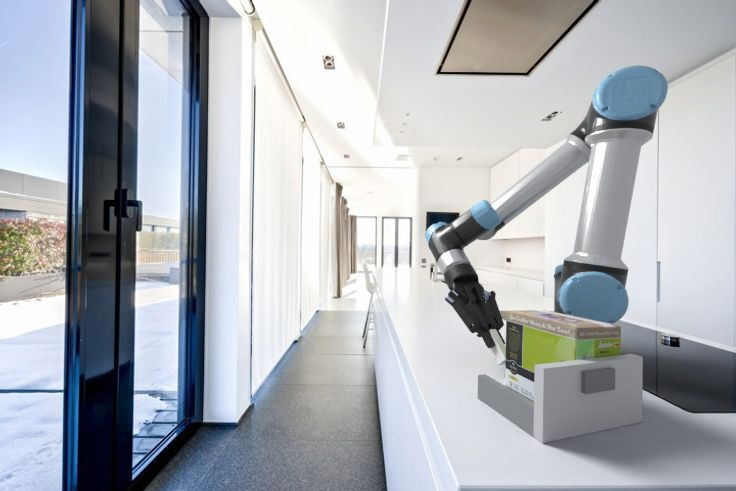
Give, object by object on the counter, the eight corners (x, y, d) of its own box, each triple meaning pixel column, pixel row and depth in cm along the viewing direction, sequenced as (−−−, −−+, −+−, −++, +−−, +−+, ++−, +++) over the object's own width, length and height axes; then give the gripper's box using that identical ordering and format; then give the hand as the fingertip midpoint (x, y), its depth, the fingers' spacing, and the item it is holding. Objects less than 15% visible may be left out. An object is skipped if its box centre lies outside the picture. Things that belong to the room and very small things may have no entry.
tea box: (623, 419, 49) (624, 324, 50) (574, 428, 46) (576, 327, 47) (543, 380, 64) (544, 307, 64) (502, 385, 61) (504, 309, 61)
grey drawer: (563, 385, 61) (563, 334, 62) (646, 423, 48) (647, 358, 48) (477, 398, 55) (478, 340, 55) (546, 446, 42) (547, 370, 42)
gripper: (472, 281, 83) (520, 367, 67) (429, 281, 79) (468, 373, 63) (486, 262, 78) (541, 350, 62) (440, 261, 74) (487, 355, 58)
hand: (505, 361), depth 62 cm, fingers closed
